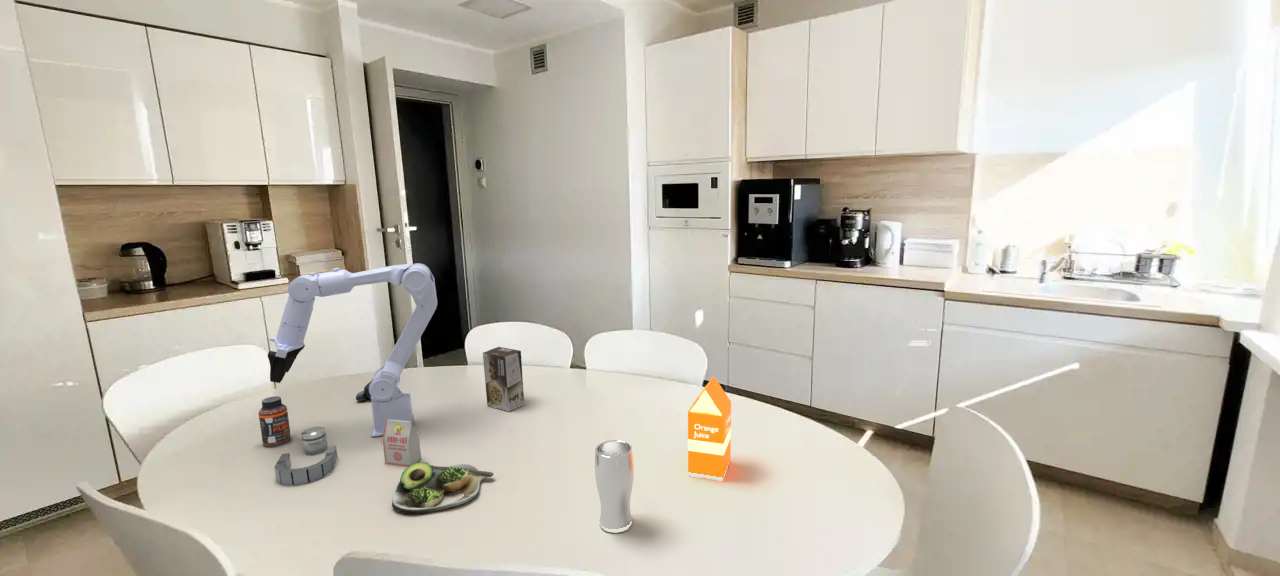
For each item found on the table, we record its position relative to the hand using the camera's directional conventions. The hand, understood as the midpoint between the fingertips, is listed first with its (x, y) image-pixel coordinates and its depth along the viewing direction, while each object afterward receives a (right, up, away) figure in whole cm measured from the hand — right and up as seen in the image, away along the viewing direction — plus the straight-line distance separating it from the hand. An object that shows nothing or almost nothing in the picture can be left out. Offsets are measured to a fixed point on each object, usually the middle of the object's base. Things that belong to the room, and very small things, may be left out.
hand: (279, 376), depth 134 cm
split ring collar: (+13, -19, -11) cm, 26 cm away
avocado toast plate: (+45, -21, -19) cm, 54 cm away
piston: (+10, -18, -1) cm, 20 cm away
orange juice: (+103, -18, -14) cm, 105 cm away
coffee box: (+49, -12, +24) cm, 56 cm away
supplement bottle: (-3, -17, +4) cm, 18 cm away
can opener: (+7, -11, +36) cm, 39 cm away
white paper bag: (+33, -19, -7) cm, 39 cm away
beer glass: (+83, -22, -32) cm, 92 cm away
